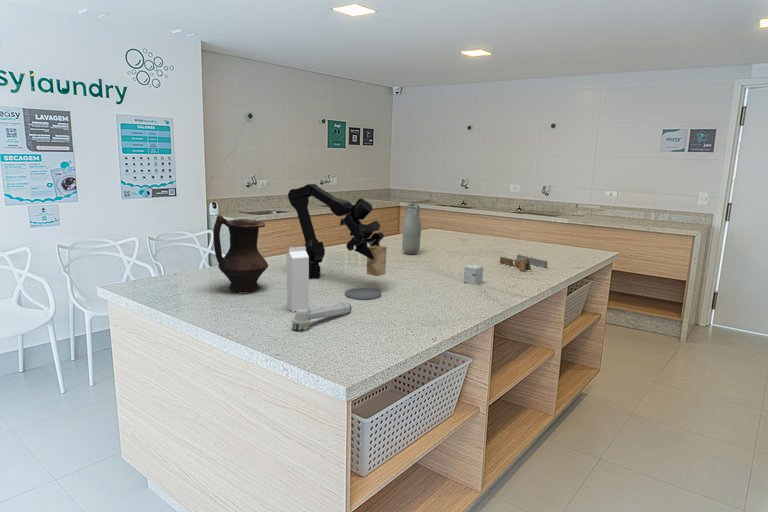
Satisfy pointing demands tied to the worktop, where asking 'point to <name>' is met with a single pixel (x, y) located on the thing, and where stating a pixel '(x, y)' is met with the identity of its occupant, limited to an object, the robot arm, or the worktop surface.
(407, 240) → the grey bottle
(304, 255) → the milk
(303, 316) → the toothbrush head
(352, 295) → the mat
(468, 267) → the skincare box
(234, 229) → the jug
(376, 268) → the tan wooden block
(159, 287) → the worktop surface
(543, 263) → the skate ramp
